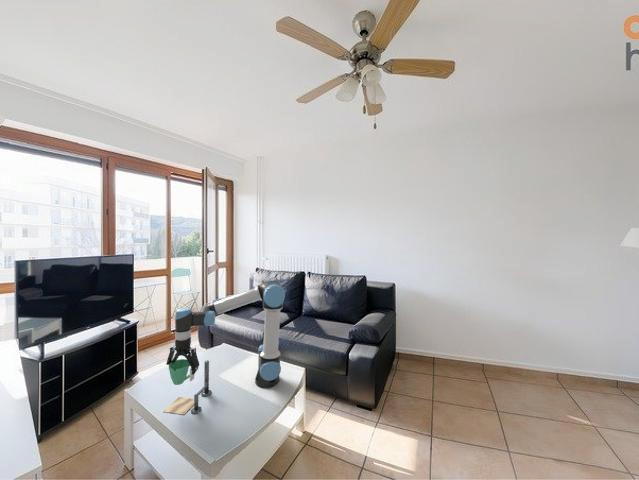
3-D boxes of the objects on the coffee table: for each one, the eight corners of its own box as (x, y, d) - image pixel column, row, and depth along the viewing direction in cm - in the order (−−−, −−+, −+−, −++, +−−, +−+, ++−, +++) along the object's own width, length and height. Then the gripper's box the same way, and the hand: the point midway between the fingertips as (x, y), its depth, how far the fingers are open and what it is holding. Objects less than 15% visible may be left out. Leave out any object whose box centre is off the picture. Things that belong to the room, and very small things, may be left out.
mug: (169, 390, 131) (170, 370, 130) (166, 380, 139) (167, 362, 138) (200, 381, 140) (201, 363, 139) (196, 372, 148) (197, 355, 147)
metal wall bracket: (217, 391, 153) (218, 360, 152) (197, 414, 134) (197, 378, 133) (204, 390, 154) (205, 358, 153) (183, 412, 135) (183, 376, 134)
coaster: (198, 400, 145) (198, 399, 145) (184, 415, 133) (184, 414, 133) (179, 397, 147) (179, 396, 147) (163, 412, 135) (163, 411, 135)
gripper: (207, 336, 141) (206, 377, 141) (168, 333, 144) (168, 372, 145) (198, 342, 133) (198, 385, 134) (158, 338, 137) (158, 380, 137)
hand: (182, 378), depth 139 cm, fingers closed on mug, 10 cm apart
